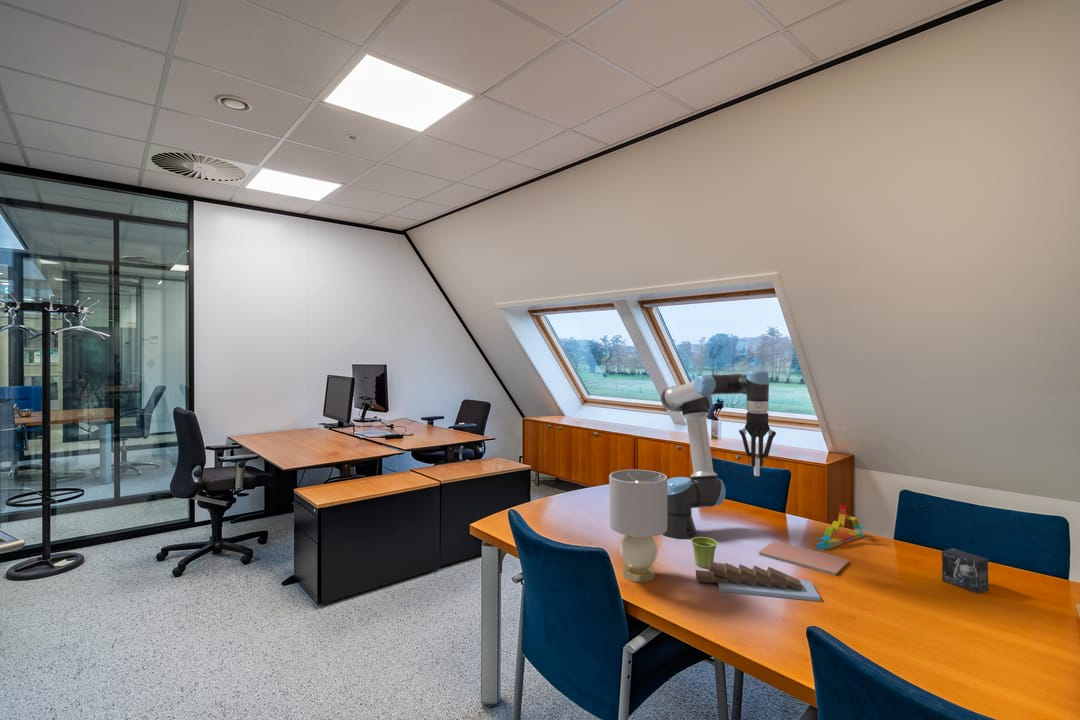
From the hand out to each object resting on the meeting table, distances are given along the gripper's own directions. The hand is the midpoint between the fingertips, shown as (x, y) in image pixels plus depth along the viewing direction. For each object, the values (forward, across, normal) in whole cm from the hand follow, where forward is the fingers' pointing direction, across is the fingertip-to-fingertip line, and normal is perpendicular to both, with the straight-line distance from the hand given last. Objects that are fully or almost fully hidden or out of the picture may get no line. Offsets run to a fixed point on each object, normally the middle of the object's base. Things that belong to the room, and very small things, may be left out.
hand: (756, 475), depth 189 cm
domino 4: (+30, +1, -22) cm, 37 cm away
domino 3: (+30, -4, -22) cm, 38 cm away
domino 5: (+30, +6, -22) cm, 38 cm away
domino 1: (+30, -13, -22) cm, 40 cm away
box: (+32, +64, -5) cm, 72 cm away
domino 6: (+30, +10, -22) cm, 39 cm away
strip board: (+32, 0, -22) cm, 39 cm away
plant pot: (+33, -19, -7) cm, 39 cm away
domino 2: (+30, -9, -22) cm, 38 cm away
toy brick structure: (+34, +38, +29) cm, 58 cm away
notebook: (+34, +18, +7) cm, 39 cm away
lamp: (+33, -42, -22) cm, 58 cm away
